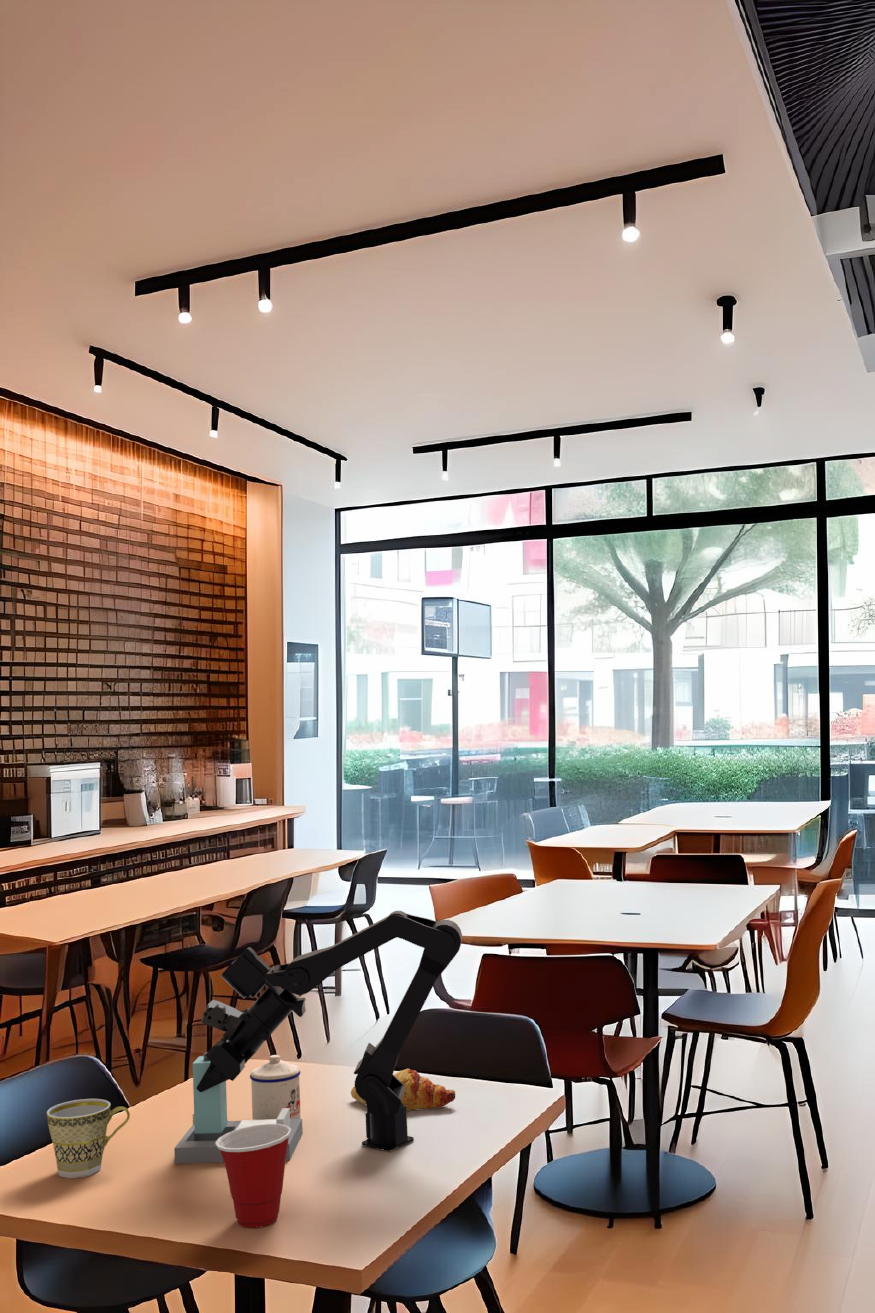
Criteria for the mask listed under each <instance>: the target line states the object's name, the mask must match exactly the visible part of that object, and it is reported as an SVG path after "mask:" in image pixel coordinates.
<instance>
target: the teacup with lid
mask: <svg viewBox="0 0 875 1313" xmlns="http://www.w3.org/2000/svg"><path fill="white" fill-rule="evenodd" d="M300 1075H301V1070H300V1067H299V1066H298V1065H296V1064H293V1063H288V1062H287V1061H285V1060H282V1059H281V1056H280V1055H278V1054H273V1055H270V1056H269V1059H268V1061H266V1062H264V1063H263V1064H261V1065H260V1066H257V1067H256V1068H253V1069H252V1070H251V1072H250V1075H249V1078H250V1080H251V1083H250V1085H251V1108H252V1109H251V1110H252V1111H251V1112H252V1115H251V1116H252V1120H267V1119H277V1117H278V1116H279V1114H280V1112H281V1110H282V1109H283V1108H290V1119H302V1117H301V1116H302V1115H301V1114H302V1113H301V1086H300V1084H301V1083H300Z"/></svg>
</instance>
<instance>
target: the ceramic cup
mask: <svg viewBox="0 0 875 1313" xmlns="http://www.w3.org/2000/svg"><path fill="white" fill-rule="evenodd" d="M111 1105H112V1104H111V1102H110V1101H108V1100H106V1099H101V1098H85V1099H83V1098H82V1099H74V1100H70V1101H66V1102H62V1103H59V1104H55V1105H54V1106H51V1107H50V1108H49V1109H48V1110H47V1111H46V1119H47V1125H48V1130H49V1134H50V1137H51V1141H52V1145H53V1146H52V1147H53V1151H54V1156H55V1161H56V1162H55V1163H56V1168H57V1173H58V1176H59V1177H62V1178H65V1179H77V1178H78V1179H79V1178H85V1177H89V1176H91V1175H94V1174H96V1173H98V1172H100V1171H101V1170H102V1169H101V1168H102V1161H103V1154H104V1151H105V1147H107V1145H108V1142H109V1141H110V1140H111V1139H112V1138H113V1137H114V1136H115V1135H116V1133H117V1132H118V1131H119V1130H121V1129H122V1127H124V1126H125V1125H126V1124H127V1123H128V1122H129V1119H130V1111H129V1109H128V1108H127V1107H125V1106H116V1107H114V1108H113V1109H112V1110H111ZM119 1111H125V1112H126V1114H127V1116H126V1119H125V1120H124V1121H123V1122H122V1123H121V1124H120V1125H118V1127H116V1128H115V1129H114V1131H113V1132H112V1133H111V1134H110V1135H107V1130H108V1125H109V1123H110V1122H111V1120H112V1118H113V1117H114V1115H115V1114H116V1113H118V1112H119Z"/></svg>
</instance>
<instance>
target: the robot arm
mask: <svg viewBox="0 0 875 1313" xmlns="http://www.w3.org/2000/svg"><path fill="white" fill-rule="evenodd" d="M396 938H399V939H401V940H404V941H406V942H408V943H411V944H412V945H415V946H417V947H420V948H423V951H422V955H421V958H420V962H419V965H418V968H417V970H416V971H415V973H414V975H413V978H412V979H411V982H410V983H409V986H408V988H407V990H406V992H405V993H404V996H403V997H402V999H401V1002H400V1003H399V1004H398V1008H397V1009H396V1011H395V1013H394V1015H393V1016H392V1017H393V1018H392V1019H391V1021H390V1022H389V1025H388V1027H387V1028H386V1031H385V1032H384V1035H383V1037H382V1038H381V1039H380V1040H379V1042H378V1043H377V1044H376V1045H373V1044H372V1043H371V1042H368V1043H367V1046H366V1048H365V1050H364V1053H363V1056H362V1058H361V1059H359V1061H358V1062H357V1065H356V1066H355V1069H354V1071H353V1074H354V1075H356V1077H355V1080H354V1086H353V1087H355V1089H356V1092H357V1094H358V1095H359V1097H360V1098H362V1099H363V1100H365V1102H366V1104H367V1105H366V1113H365V1114H364V1115H365V1133H366V1134H365V1135H366V1139H365V1140H363V1141H361V1146H364V1147H368V1148H372V1149H377V1150H382V1151H385V1152H393V1151H395V1150H397V1149H398V1148H399V1149H400V1148H401V1147H403V1146H405V1145H407V1144H409V1143H412V1142H414V1140H415V1137H413V1136H410V1135H408V1114H407V1112H408V1111H407V1109H406V1105H403V1103H402V1102H401V1100H402V1096H403V1093H404V1089H405V1085H404V1084H403V1083H401V1082H400V1081H399V1080H398V1079H397V1078H396V1077H395V1076H394V1072H395V1068H396V1065H397V1063H398V1058H399V1055H400V1052H401V1050H402V1049H403V1046H404V1044H406V1043H405V1042H406V1041H407V1038H408V1036H410V1033H411V1031H412V1029H413V1027H414V1024H415V1023H416V1021H417V1019H418V1017H419V1014H420V1013H421V1011H422V1009H423V1007H424V1004H425V1003H426V1001H427V999H428V997H429V995H430V993H431V991H432V989H433V987H434V986H435V984H436V981H437V980H438V978H439V977H440V976H441V975H442V973H443V972H444V971H445V970H446V969H447V967H449V965H450V963H451V962H452V961H453V960H454V958H455V956H457V954H458V952H459V951H460V949H461V946H462V941H463V934H462V930H461V927H460V926H459V925H458V924H457V923H456V922H455V921H453V920H450V919H441V920H438V921H436V920H432V919H430V918H426V917H423V916H422V917H421V916H417V915H413V914H409V913H407V912H405V911H402V910H394V911H392V912H390V913H389V915H387V916H385V917H384V918H382V919H381V920H378V921H377V922H374V923H372V924H371V925H369V926H367V927H365V928H362V929H361V930H359V931H357V932H355V933H354V934H352V935H349V936H348V937H346V938H344V939H342V940H341V941H339V942H337V943H335V944H332V945H330V946H328V947H324V948H320V949H316V950H313V951H309V952H307V953H304V954H301V955H298V956H296V957H295V958H293V960H292V961H290V962H289V963H283V964H277V965H273V966H272V967H270V966H269V965H268V964H267V963H266V962H265V961H264V960H263V959H262V958H261V957H260V956H259V955H258V954H257V953H256V951H255V950H254V949H253V948H252V947H251V946H250V947H247V948H246V949H245V950H244V951H243V952H242V953H241V954H240V955H239V956H238V957H237V958H236V959H234V961H232V962H231V963H230V964H229V965H228V966H227V968H226V969H224V971H223V972H222V973H221V975H220V978H222V979H223V980H224V982H226V983H227V984H228V985H229V986H230V987H231V988H232V989H233V990H234V991H235V992H236V993H237V994H239V996H240V997H241V998H242V999H245V998H247V999H249V998H252V999H254V998H255V997H256V995H257V994H258V993H260V992H261V990H262V989H263V988H264V987H265V986H266V987H267V988H266V989H265V990H264V991H263V993H262V994H261V995H260V996H259V997H258V998H256V1000H255V1001H254V1003H253V1004H252V1005H251V1006H250V1007H247V1008H246V1009H245V1010H244V1011H240V1010H239V1009H237V1008H235V1007H233V1006H230V1005H228V1004H226V1003H223V1002H221V1001H220V1000H217V999H212V1000H211V1001H210V1002H209V1003H208V1004H207V1006H206V1008H205V1011H204V1012H203V1013H202V1014H203V1015H202V1018H201V1020H200V1023H201V1024H203V1025H205V1026H210V1027H212V1028H215V1029H217V1030H219V1031H222V1032H224V1033H223V1034H222V1037H221V1038H220V1040H218V1041H216V1042H215V1043H214V1045H213V1046H212V1047H211V1048H210V1049H209V1050H208V1051H207V1054H206V1057H207V1058H208V1059H209V1060H210V1065H209V1067H208V1069H207V1071H206V1072H205V1074H204V1076H203V1077H202V1079H201V1081H200V1082H199V1084H198V1086H197V1090H198V1091H199V1092H203V1091H205V1090H207V1089H209V1088H212V1087H214V1086H216V1085H218V1084H220V1083H222V1082H224V1081H226V1082H227V1081H229V1080H230V1081H232V1082H234V1080H235V1079H236V1078H238V1076H239V1075H240V1074H241V1072H242V1071H243V1070H244V1068H245V1067H246V1064H247V1062H248V1061H250V1059H251V1058H252V1057H253V1056H254V1055H255V1054H256V1053H257V1051H259V1049H260V1048H261V1047H262V1045H263V1044H264V1043H265V1042H266V1041H267V1040H268V1039H269V1038H270V1037H271V1035H272V1034H273V1033H274V1032H275V1031H276V1029H277V1028H279V1026H280V1025H281V1024H282V1023H283V1022H284V1020H285V1019H286V1018H287V1017H288V1016H289V1015H290V1014H291V1013H292V1012H293V1013H295V1014H296V1015H297V1016H298V1017H299V1018H302V1017H303V1016H304V1014H305V1013H306V1010H307V1009H306V1000H307V999H306V997H298V996H303V995H307V994H308V993H310V992H311V991H312V990H314V989H315V988H316V987H318V986H319V985H320V984H322V983H323V982H324V981H325V980H326V979H327V978H329V977H330V976H331V975H332V974H333V973H335V972H336V971H337V970H338V969H340V968H342V967H343V966H345V965H347V964H349V963H351V962H352V961H355V960H356V959H359V958H360V957H362V956H365V955H366V954H367V953H369V952H372V951H373V950H375V949H378V948H379V947H381V946H383V945H385V944H386V943H388V942H390V941H392V940H394V939H396ZM296 995H297V996H296Z"/></svg>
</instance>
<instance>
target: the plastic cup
mask: <svg viewBox="0 0 875 1313" xmlns="http://www.w3.org/2000/svg"><path fill="white" fill-rule="evenodd" d="M291 1130H292V1129H291V1128H290V1127H289V1126H286V1125H282V1124H262V1125H254V1126H249V1127H245V1128H241V1129H237V1130H235V1131H232V1132H229V1133H227V1134H225V1135H223V1136H221V1137H220V1138H218V1140H217V1141H216V1146H217V1147H218V1149H219V1150H220V1151H221V1155H222V1157H223V1161H224V1162H223V1163H224V1167H225V1171H226V1176H227V1182H228V1186H229V1191H230V1192H229V1193H230V1196H231V1200H232V1202H233V1209H234V1214H235V1218H236V1220H237V1223H238V1225H239V1226H240V1227H243V1228H249V1229H254V1228H255V1229H257V1228H262V1227H267V1226H269V1225H272V1224H273V1223H275V1222H277V1220H278V1218H279V1214H280V1209H281V1208H280V1207H281V1200H282V1198H281V1197H282V1193H283V1188H284V1177H285V1170H286V1161H287V1160H286V1154H287V1146H288V1140H289V1136H290V1134H291Z"/></svg>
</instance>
